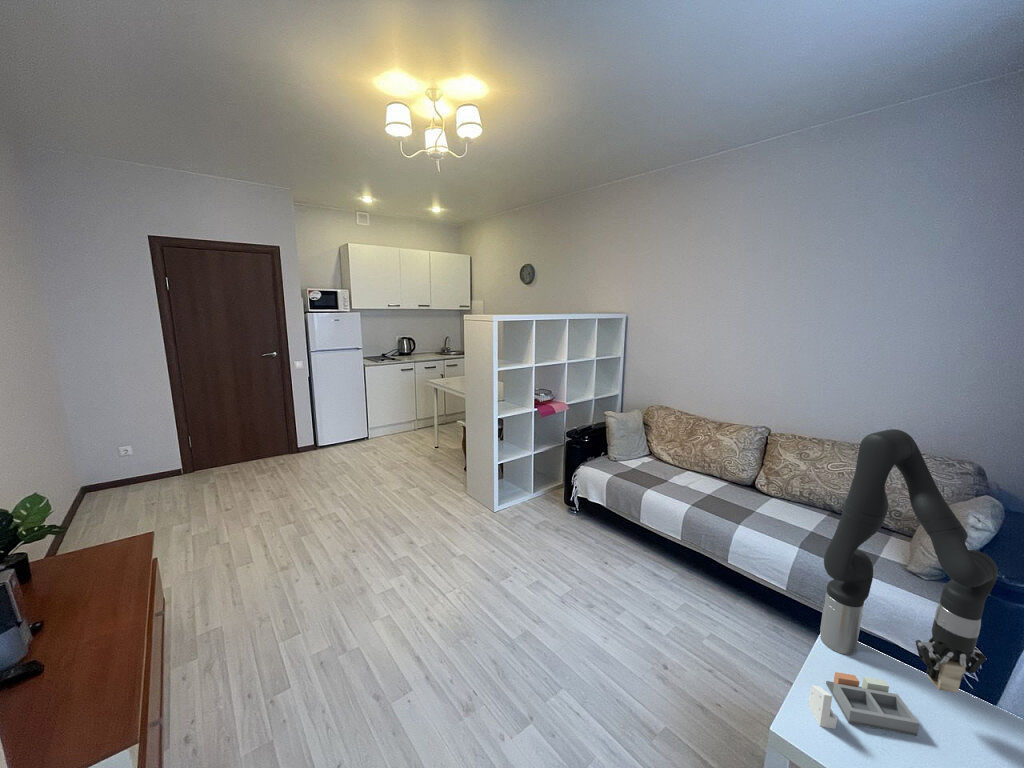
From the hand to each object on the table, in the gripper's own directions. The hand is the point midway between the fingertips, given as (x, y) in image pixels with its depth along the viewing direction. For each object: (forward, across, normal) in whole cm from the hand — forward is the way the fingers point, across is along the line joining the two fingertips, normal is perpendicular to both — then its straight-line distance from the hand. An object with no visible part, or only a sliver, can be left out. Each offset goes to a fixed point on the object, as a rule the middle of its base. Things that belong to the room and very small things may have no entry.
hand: (942, 679), depth 104 cm
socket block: (+12, +16, +1) cm, 20 cm away
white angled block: (+12, +29, +6) cm, 32 cm away
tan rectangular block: (+1, 0, 0) cm, 1 cm away
